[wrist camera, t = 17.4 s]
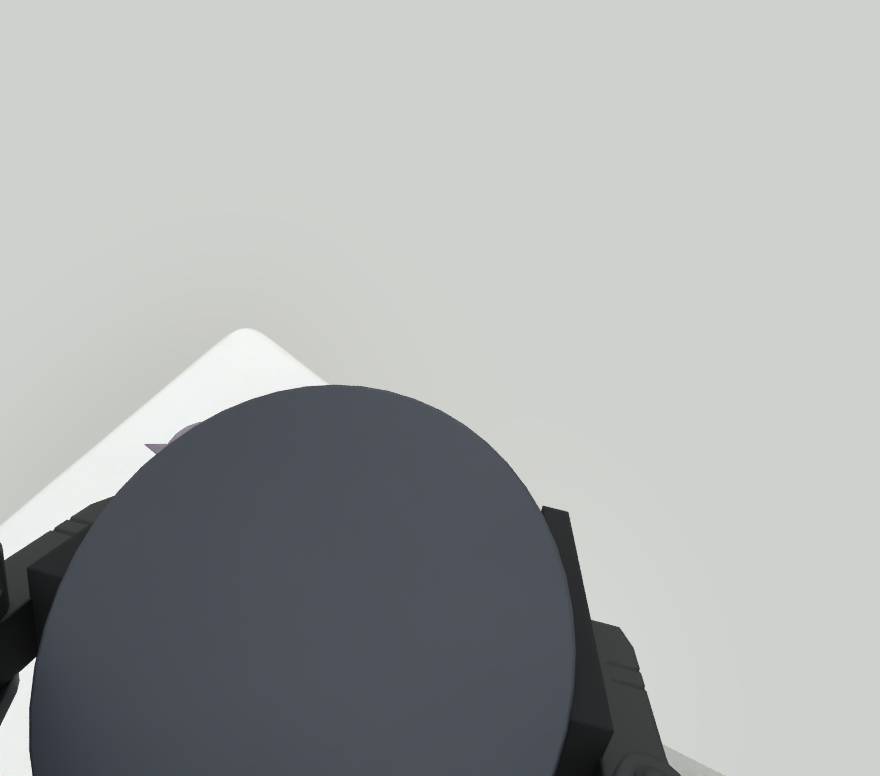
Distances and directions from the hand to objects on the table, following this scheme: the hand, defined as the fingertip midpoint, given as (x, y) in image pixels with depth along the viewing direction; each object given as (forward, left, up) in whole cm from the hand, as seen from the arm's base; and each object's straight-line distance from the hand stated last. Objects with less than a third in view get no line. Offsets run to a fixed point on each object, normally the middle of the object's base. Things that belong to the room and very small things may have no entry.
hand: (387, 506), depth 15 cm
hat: (-3, +2, -4) cm, 5 cm away
